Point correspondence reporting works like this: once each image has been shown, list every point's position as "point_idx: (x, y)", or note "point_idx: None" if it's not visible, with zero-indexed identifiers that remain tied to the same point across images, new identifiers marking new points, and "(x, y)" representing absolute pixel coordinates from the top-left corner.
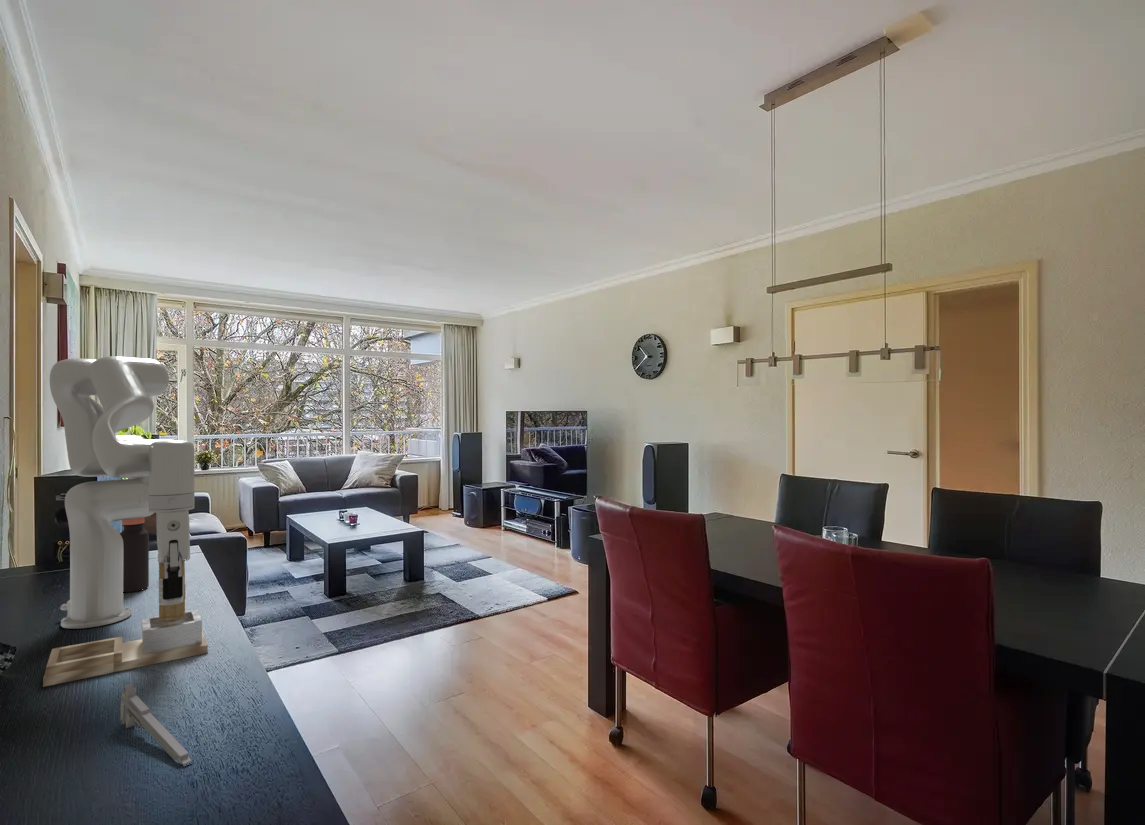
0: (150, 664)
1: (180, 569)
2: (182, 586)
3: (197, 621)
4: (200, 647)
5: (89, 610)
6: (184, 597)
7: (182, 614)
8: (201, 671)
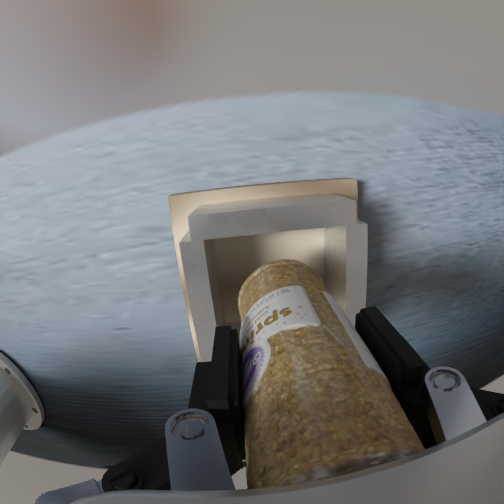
0: None
1: (473, 401)
2: (396, 331)
3: (355, 215)
4: (356, 196)
5: (19, 418)
6: (311, 293)
7: (310, 272)
8: (450, 198)
